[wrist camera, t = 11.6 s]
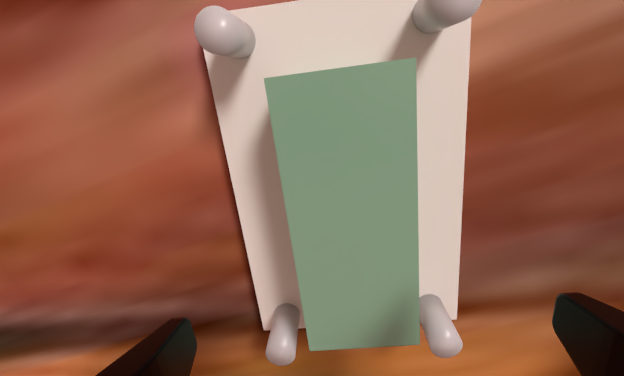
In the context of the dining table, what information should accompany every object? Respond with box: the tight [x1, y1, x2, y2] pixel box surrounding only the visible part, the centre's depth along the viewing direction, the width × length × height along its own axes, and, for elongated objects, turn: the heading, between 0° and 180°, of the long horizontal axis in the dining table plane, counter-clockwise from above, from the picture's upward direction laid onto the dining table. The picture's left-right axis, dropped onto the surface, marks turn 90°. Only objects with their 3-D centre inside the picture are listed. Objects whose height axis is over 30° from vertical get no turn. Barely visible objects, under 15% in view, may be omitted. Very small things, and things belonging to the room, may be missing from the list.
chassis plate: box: [194, 0, 482, 366], centre depth 16 cm, size 12×18×4 cm, turn 7°
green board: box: [264, 57, 420, 351], centre depth 14 cm, size 5×12×4 cm, turn 7°
